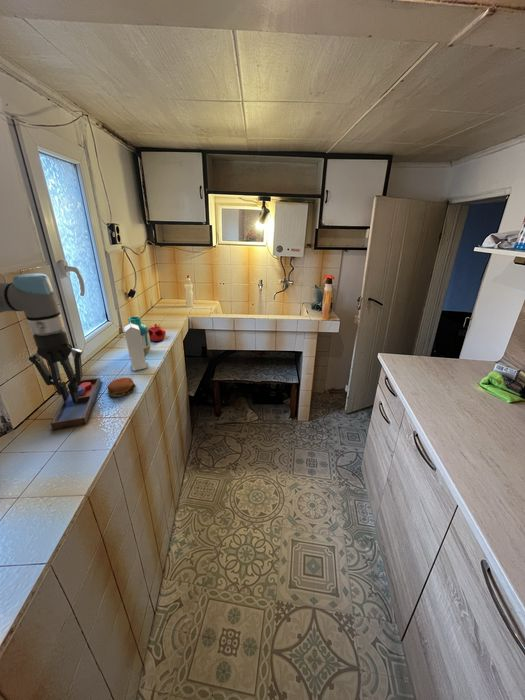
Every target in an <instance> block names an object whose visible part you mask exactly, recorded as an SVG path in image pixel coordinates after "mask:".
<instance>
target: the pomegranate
mask: <svg viewBox="0 0 525 700" xmlns="http://www.w3.org/2000/svg"><path fill="white" fill-rule="evenodd" d="M148 332H149V336H150V342H161V341H164V339H165V337H166V333H167V331H166V329H164V328H163V327H162V326H161V325H158V324H157V323H155V324H154V325H153V326H151V327H149V328H148Z"/></svg>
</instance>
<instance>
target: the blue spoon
mask: <svg viewBox="0 0 525 700" xmlns="http://www.w3.org/2000/svg"><path fill="white" fill-rule="evenodd" d="M78 387H79V390H78V392H77V395H78V396H79V395H81V394H83V393H84V390H83V387H82V386H78ZM65 403H66V406H67V407H73V405H74V403H73V400H72V397H71V394H70V391H69V396H68V398H67V400H66V402H65Z"/></svg>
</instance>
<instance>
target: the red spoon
mask: <svg viewBox="0 0 525 700" xmlns="http://www.w3.org/2000/svg"><path fill="white" fill-rule="evenodd" d="M79 386H82V387H83V390H84V393H83V394H81V395H79V396H78V397H82V396H85V394H86V392H87V390H89V389H90V388H91V387H92V386H91V383H90V382H84V383H82V384H80V385H79Z"/></svg>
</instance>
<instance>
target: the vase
mask: <svg viewBox="0 0 525 700" xmlns="http://www.w3.org/2000/svg"><path fill="white" fill-rule="evenodd" d="M127 321H128V324H130V323H132V324H135V325H137V326H138V327H139V330H140V335H141V340H142V345H143V351H144V355H146V354H148V353H149V352H150V350H151V340H150V336H149V332H148V329H149V328H148V326H147V324H146V323H144V322H143V321H142V319H141V317H140V316H139V315H133V316H130V317H128V319H127Z"/></svg>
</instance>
